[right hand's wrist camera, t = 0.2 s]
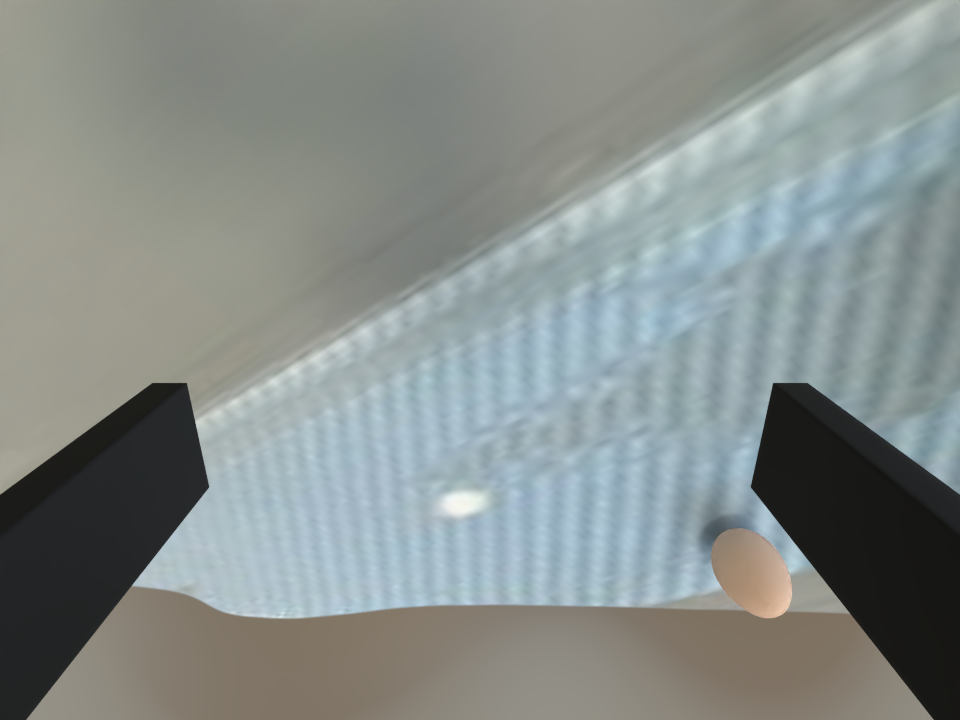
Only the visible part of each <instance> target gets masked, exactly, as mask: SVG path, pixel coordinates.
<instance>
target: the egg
mask: <svg viewBox="0 0 960 720" xmlns="http://www.w3.org/2000/svg"><path fill="white" fill-rule="evenodd" d="M711 562H712V567H713V571H714V573H715V576H716V578H717V580H718V582H719V583H720V585H721V587H722V588H723V590H724V591H725V592H726V593H727V595H728V596H729V597H730V598H731V599H732V600H733V601H734V602H736V603H737V604H738V605H739V606H741V607H742V608H743V609H745V610H747V611H748V612H750V613H752V614H754V615H756V616H759V617H763V618H775V617H777V616H780V615H782V614H783V613H784V612H785V611H786V610H787V609H788V607H789V605H790V602H791V598H792V585H791V579H790V574H789V572H788V569H787V566H786V564H785V562H784V560H783V558H782V557H781V555H780V554H779V552H778V551H777V550H776V548H775V547H774V546H773V545H772V544H771V543H770V542H769V541H768V540H766V539H765V538H764V537H763V536H761V535H759V534H758V533H755V532H753V531H750V530H747V529H743V528H732V529H728V530H726V531H724V532H722V533H721V534H720V535H719V536H718V537H717V538H716V540H715V542H714V543H713V547H712V553H711Z"/></svg>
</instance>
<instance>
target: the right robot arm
mask: <svg viewBox="0 0 960 720" xmlns="http://www.w3.org/2000/svg"><path fill="white" fill-rule="evenodd" d="M208 488H209V484H208V479H207V475H206V470H205V465H204V461H203V456H202V452H201V447H200V442H199V438H198V433H197V428H196V424H195V419H194V414H193V410H192V405H191V401H190V396H189V391H188V387H187V383H152V384H151V385H149V386H148V387H147V388H145V389H144V390H142V391H141V392H140V393H138V394H137V395H136V396H134V397H133V398H132V399H130V400H129V401H127V402H126V403H125V404H123V405H122V406H121V407H119V408H118V409H117V410H115V411H114V412H112V413H111V414H110V415H108V416H107V417H106V418H104V419H103V420H102V421H100V422H99V423H97V424H96V425H95V426H93V427H92V428H91V429H89V430H88V431H87V432H85V433H84V434H82V435H81V436H80V437H78V438H77V439H76V440H74V441H73V442H72V443H70V444H69V445H67V446H66V447H65V448H63V449H62V450H61V451H59V452H58V453H56V454H55V455H54V456H52V457H51V458H50V459H48V460H47V461H46V462H44V463H43V464H41V465H40V466H39V467H37V468H36V469H35V470H33V471H32V472H31V473H29V474H28V475H26V476H25V477H24V478H22V479H21V480H20V481H18V482H17V483H16V484H14V485H13V486H11V487H10V488H9V489H7V490H6V491H5V492H3V493H2V494H1V495H0V720H26V719H27V718H28V717H29V715H30V714H31V713H32V712H33V710H34V709H35V708H36V706H37V705H38V704H39V703H40V701H41V700H42V699H43V698H44V696H45V695H46V694H47V692H48V691H49V690H50V689H51V687H52V686H53V685H54V684H55V682H56V681H57V680H58V679H59V677H60V676H61V675H62V673H63V672H64V671H65V670H66V668H67V667H68V666H69V665H70V663H71V662H72V661H73V659H74V658H75V657H76V656H77V654H78V653H79V652H80V651H81V649H82V648H83V647H84V646H85V644H86V643H87V642H88V640H89V639H90V638H91V637H92V635H93V634H94V633H95V632H96V630H97V629H98V628H99V626H100V625H101V624H102V623H103V621H104V620H105V619H106V618H107V616H108V615H109V614H110V612H111V611H112V610H113V609H114V607H115V606H116V605H117V604H118V602H119V601H120V600H121V599H122V597H123V596H124V595H125V593H126V592H127V591H128V590H129V588H130V587H131V586H132V585H133V583H134V582H135V581H136V579H137V578H138V577H139V576H140V574H141V573H142V572H143V571H144V569H145V568H146V567H147V565H148V564H149V563H150V562H151V560H152V559H153V558H154V557H155V555H156V554H157V553H158V552H159V550H160V549H161V548H162V546H163V545H164V544H165V543H166V541H167V540H168V539H169V538H170V536H171V535H172V534H173V532H174V531H175V530H176V529H177V527H178V526H179V525H180V524H181V522H182V521H183V520H184V518H185V517H186V516H187V515H188V513H189V512H190V511H191V510H192V508H193V507H194V506H195V505H196V503H197V502H198V501H199V499H200V498H201V497H202V496H203V494H204V493H205V492H206V491H207V489H208ZM751 488H752V489H753V491H754V492H755V493H756V494H757V496H758V497H759V498H760V499H761V501H762V502H763V503H764V505H765V506H766V507H767V508H768V510H769V511H770V512H771V513H772V515H773V516H774V517H775V518H776V520H777V521H778V522H779V524H780V525H781V526H782V527H783V529H784V530H785V531H786V532H787V534H788V535H789V536H790V538H791V539H792V540H793V541H794V543H795V544H796V545H797V546H798V548H799V549H800V550H801V552H802V553H803V554H804V555H805V557H806V558H807V559H808V560H809V562H810V563H811V564H812V565H813V567H814V568H815V569H816V571H817V572H818V573H819V574H820V576H821V577H822V578H823V579H824V581H825V582H826V583H827V585H828V586H829V587H830V588H831V590H832V591H833V592H834V593H835V595H836V596H837V597H838V599H839V600H840V601H841V602H842V604H843V605H844V606H845V607H846V609H847V610H848V611H849V612H850V614H851V615H852V616H853V618H854V619H855V620H856V621H857V623H858V624H859V625H860V626H861V628H862V629H863V630H864V632H865V633H866V634H867V635H868V637H869V638H870V639H871V640H872V642H873V643H874V644H875V646H876V647H877V648H878V649H879V651H880V652H881V653H882V654H883V656H884V657H885V658H886V659H887V661H888V662H889V663H890V665H891V666H892V667H893V668H894V670H895V671H896V672H897V673H898V675H899V676H900V677H901V679H902V680H903V681H904V682H905V684H906V685H907V686H908V687H909V689H910V690H911V691H912V692H913V694H914V695H915V696H916V698H917V699H918V700H919V701H920V703H921V704H922V705H923V706H924V708H925V709H926V710H927V712H928V713H929V714H930V715H931V717H932V718H933V719H934V720H960V495H959V494H958V493H957V492H955V491H954V490H953V489H951V488H950V487H949V486H947V485H946V484H944V483H943V482H942V481H940V480H939V479H938V478H936V477H935V476H934V475H932V474H931V473H929V472H928V471H927V470H925V469H924V468H923V467H921V466H920V465H919V464H917V463H916V462H914V461H913V460H912V459H910V458H909V457H908V456H906V455H905V454H904V453H902V452H901V451H899V450H898V449H897V448H895V447H894V446H893V445H891V444H890V443H888V442H887V441H886V440H884V439H883V438H882V437H880V436H879V435H878V434H876V433H875V432H873V431H872V430H871V429H869V428H868V427H867V426H865V425H864V424H863V423H861V422H860V421H858V420H857V419H856V418H854V417H853V416H852V415H850V414H849V413H848V412H846V411H845V410H843V409H842V408H841V407H839V406H838V405H837V404H835V403H834V402H833V401H831V400H830V399H828V398H827V397H826V396H824V395H823V394H822V393H820V392H819V391H818V390H816V389H815V388H813V387H812V386H811V385H809V384H808V383H773V387H772V391H771V396H770V401H769V405H768V410H767V414H766V419H765V424H764V428H763V433H762V438H761V442H760V447H759V452H758V456H757V461H756V465H755V470H754V475H753V479H752V484H751Z"/></svg>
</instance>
